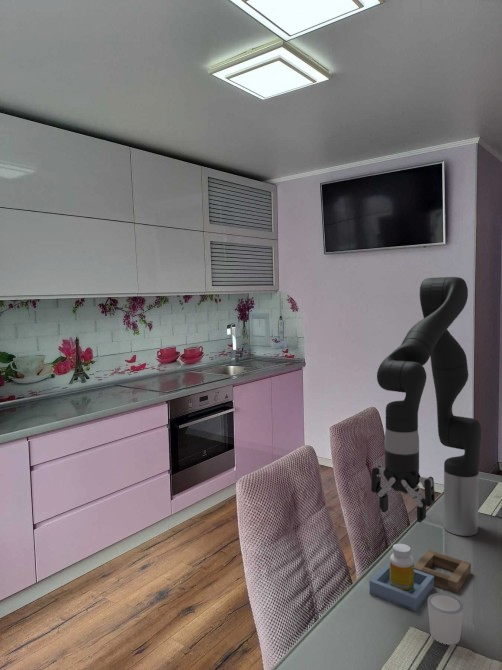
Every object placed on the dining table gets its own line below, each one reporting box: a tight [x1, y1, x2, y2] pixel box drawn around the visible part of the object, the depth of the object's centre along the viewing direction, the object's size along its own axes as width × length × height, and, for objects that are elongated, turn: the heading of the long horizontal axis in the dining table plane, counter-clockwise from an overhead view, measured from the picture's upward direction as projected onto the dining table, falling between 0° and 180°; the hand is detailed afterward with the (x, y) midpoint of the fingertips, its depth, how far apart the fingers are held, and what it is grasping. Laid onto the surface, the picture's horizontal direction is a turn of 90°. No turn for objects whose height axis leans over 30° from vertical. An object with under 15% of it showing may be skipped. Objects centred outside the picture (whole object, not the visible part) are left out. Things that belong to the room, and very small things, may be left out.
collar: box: [414, 549, 472, 594], centre depth 122 cm, size 10×10×2 cm
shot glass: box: [427, 592, 464, 646], centre depth 101 cm, size 7×7×7 cm
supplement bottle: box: [389, 543, 415, 593], centre depth 116 cm, size 5×5×10 cm
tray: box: [369, 560, 435, 612], centre depth 116 cm, size 11×11×3 cm
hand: (402, 515), depth 115 cm, fingers open, 8 cm apart
